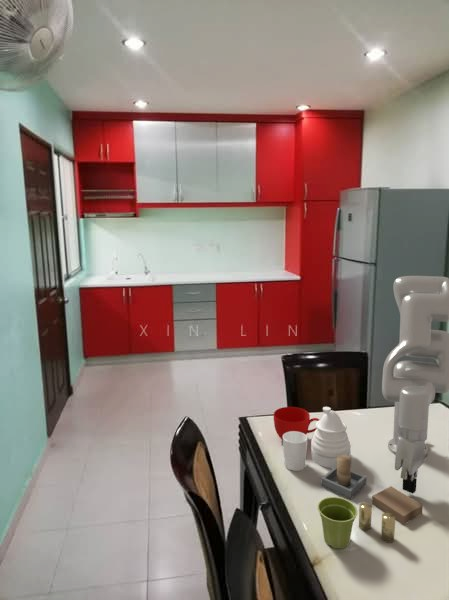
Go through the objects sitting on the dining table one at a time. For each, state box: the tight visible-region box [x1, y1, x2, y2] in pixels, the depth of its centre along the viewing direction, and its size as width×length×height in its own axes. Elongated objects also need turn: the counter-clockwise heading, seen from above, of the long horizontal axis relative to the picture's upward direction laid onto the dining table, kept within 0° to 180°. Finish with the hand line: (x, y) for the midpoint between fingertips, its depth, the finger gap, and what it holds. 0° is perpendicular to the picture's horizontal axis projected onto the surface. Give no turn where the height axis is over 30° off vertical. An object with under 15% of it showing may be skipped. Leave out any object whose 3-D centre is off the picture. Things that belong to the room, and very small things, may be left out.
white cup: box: [282, 431, 308, 472], centre depth 137 cm, size 8×8×10 cm
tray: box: [320, 466, 367, 500], centre depth 127 cm, size 10×10×2 cm
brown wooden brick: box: [371, 486, 423, 526], centre depth 116 cm, size 8×10×3 cm
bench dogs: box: [358, 502, 396, 544], centre depth 107 cm, size 3×9×6 cm, turn 45°
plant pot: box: [317, 496, 358, 549], centre depth 104 cm, size 9×9×9 cm
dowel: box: [337, 455, 352, 487], centre depth 126 cm, size 4×4×8 cm
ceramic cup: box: [273, 406, 320, 441], centre depth 153 cm, size 13×17×10 cm
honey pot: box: [310, 406, 352, 469], centre depth 141 cm, size 13×13×18 cm
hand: (409, 490), depth 122 cm, fingers closed
